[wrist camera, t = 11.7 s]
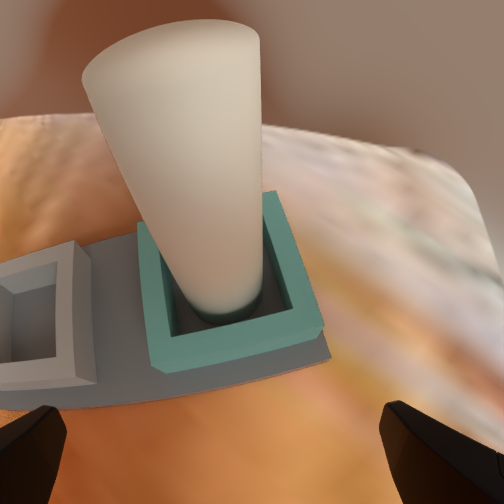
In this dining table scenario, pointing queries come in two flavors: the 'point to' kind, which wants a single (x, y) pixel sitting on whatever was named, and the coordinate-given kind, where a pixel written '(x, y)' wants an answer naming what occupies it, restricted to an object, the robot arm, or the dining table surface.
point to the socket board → (145, 324)
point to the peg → (191, 153)
